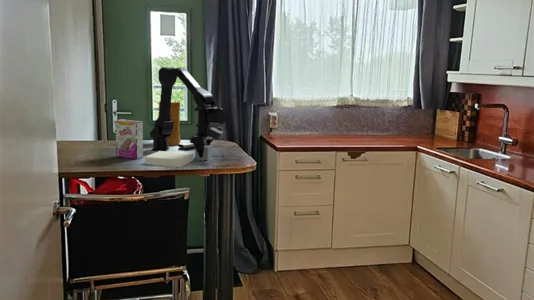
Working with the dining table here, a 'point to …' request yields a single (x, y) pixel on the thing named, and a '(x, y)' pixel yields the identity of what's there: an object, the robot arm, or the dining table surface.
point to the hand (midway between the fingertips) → (203, 156)
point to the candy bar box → (129, 139)
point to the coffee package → (175, 117)
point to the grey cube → (204, 153)
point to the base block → (169, 158)
